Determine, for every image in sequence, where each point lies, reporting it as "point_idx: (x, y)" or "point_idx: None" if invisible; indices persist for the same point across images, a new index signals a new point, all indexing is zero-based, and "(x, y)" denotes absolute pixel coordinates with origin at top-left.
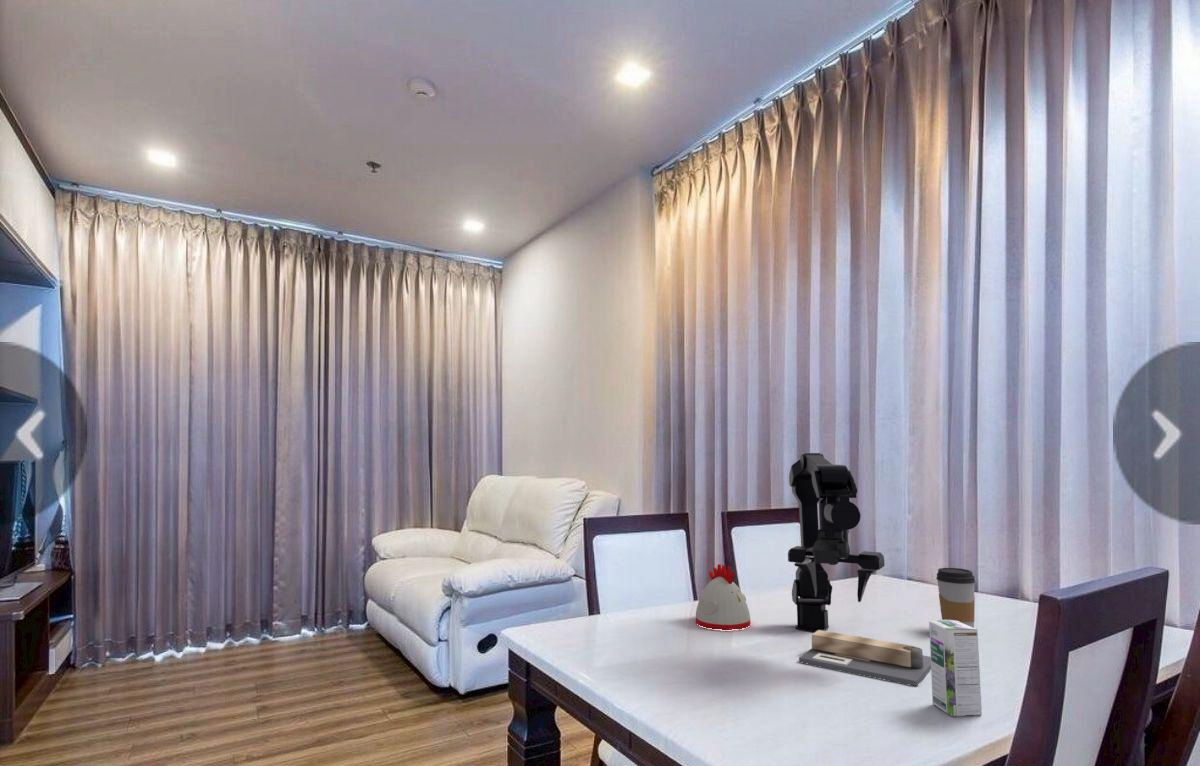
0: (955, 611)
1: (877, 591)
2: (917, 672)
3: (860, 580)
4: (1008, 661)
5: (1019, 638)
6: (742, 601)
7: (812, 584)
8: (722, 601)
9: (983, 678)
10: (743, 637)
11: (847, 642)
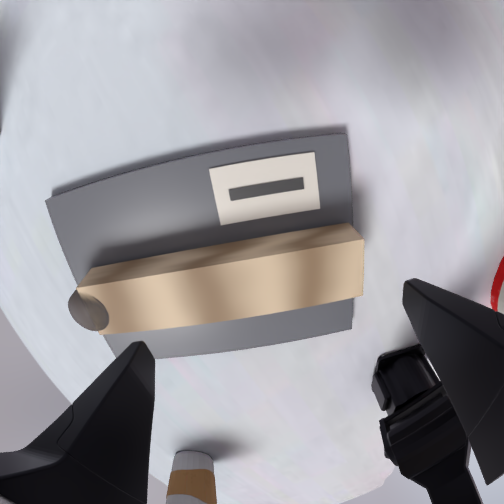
0: (182, 482)
1: (348, 488)
2: (74, 256)
3: (60, 438)
4: None
5: None
6: None
7: (456, 312)
8: None
9: (39, 325)
10: (492, 224)
11: (243, 257)
